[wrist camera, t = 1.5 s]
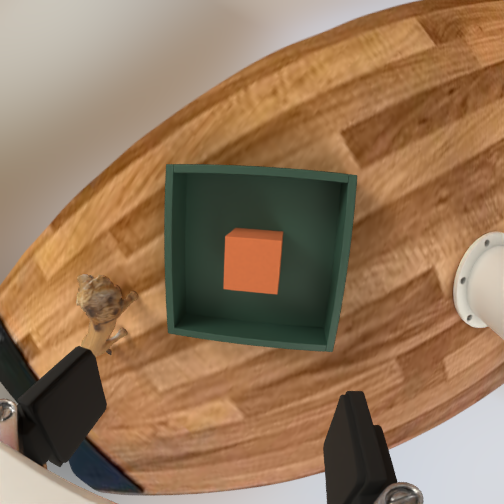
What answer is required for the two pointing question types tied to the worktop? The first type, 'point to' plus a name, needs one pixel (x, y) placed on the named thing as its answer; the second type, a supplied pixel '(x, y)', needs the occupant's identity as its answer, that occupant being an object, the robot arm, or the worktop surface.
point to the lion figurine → (101, 311)
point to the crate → (262, 218)
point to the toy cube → (253, 260)
